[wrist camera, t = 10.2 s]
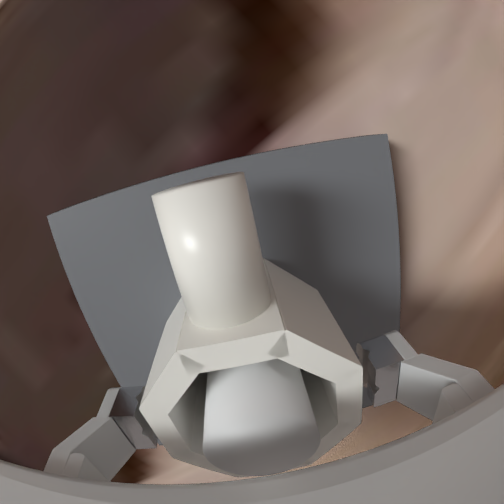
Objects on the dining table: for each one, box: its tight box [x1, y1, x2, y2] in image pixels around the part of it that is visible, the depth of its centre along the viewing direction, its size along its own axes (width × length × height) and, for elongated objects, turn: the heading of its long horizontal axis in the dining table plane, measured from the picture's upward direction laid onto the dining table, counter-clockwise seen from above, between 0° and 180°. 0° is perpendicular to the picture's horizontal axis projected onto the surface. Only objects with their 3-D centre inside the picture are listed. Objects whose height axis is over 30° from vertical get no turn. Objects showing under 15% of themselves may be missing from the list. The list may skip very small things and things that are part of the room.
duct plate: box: [47, 134, 401, 476], centre depth 11 cm, size 14×14×8 cm
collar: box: [139, 172, 363, 477], centre depth 10 cm, size 10×6×5 cm, turn 12°
